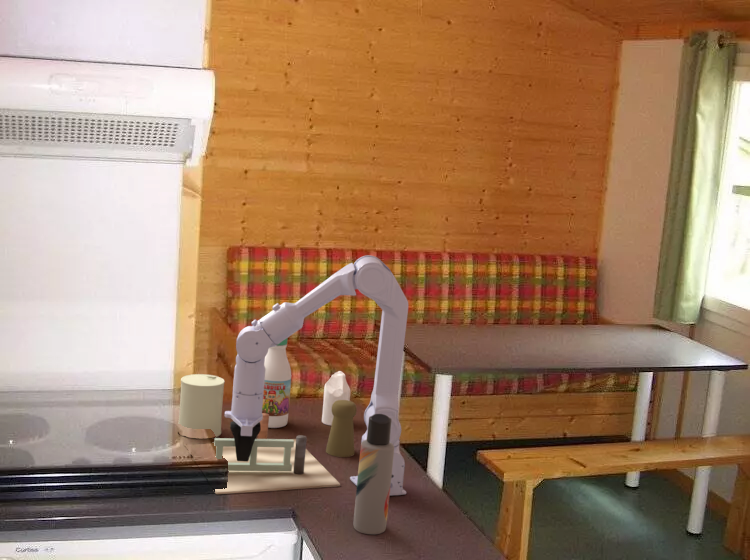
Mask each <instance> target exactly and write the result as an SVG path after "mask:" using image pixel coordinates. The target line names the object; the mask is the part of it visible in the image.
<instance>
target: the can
mask: <svg viewBox="0 0 750 560" xmlns="http://www.w3.org/2000/svg"><path fill="white" fill-rule="evenodd" d="M225 382H226V381H225V379H224V378H222V377H219V376H218V375H213V374H203V373H196V374H195V373H194V374H188V375H184V376H182V377H181V378H180V396H179V398H180V399H179V413H178V424H181V425H182V426H184V427H187V428H192V429H211V430H212V431H213V432H214V434H215V436H216V437H215V438H219V436H221V434H222V416H223V415H222V414H223V400H224V389H225V388H224V387H225Z"/></svg>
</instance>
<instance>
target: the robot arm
mask: <svg viewBox="0 0 750 560" xmlns="http://www.w3.org/2000/svg"><path fill="white" fill-rule="evenodd" d="M356 290H358V291H359V293H360V294H362V295H363V296H365V297H367V298H369V299H371V300H373V301H374V302H375V304H377V306H378V307H379V308H380V309H381V310H382V311H381V318H380V319H381V321H380V328H379V337H378V346H377V354H376V355H377V356H376V362H375V363H376V364H375V372H374V383H373V389H372V392H371V396H370V401H369V404H368V406H366V408H365V410H364V413H363V420H364V421H363V422H364V423H365V425H366V431H365V433H363V434H362V436H361V441H360V443H362V442H363V441H364V440H367V432H368V423H369V417H370V416H372V415H374V414H384V415H386V416H388V417H389V418H391V419H392V421H391V432H390V442H391V443H392V444H393V445H394V456H393V466H392V476H391V485H390V495H389V497H390V496H391V497H392V496H401V495H406V494H407V491H406V490H405V489H404V488H403V487H404V478H405V477H404V476H405V468H406V464H405V462H406V461H405V459H404V456H402V453H401V452H400V440H401V439H400V437H401V433H402V425H401V423H400V421H399V410H400V407H399V390H400V383H401V373H402V366H403V365H402V363H403V357H404V356H403V355H404V348H405V347H404V346H405V340H406V338H405V337H406V333H407V332H406V330H407V324H408V323H407V321H408V312H409V301H408V299H407V297H406V295H405V293H404V291H403V290H402V288H401V286H400V283H398V281H397V279H396V277H395V275H394V273H392V271H391V269H390V267H388V266H387V265H386V264H385V262H383V261H382V260H381V259H380V258H378V257H377V256H374V255H368V254H366V255H363V256H361V257H359V258H358V259H356V260H355V262H354V263H353V262H350V263H348V264H346V265H345V266H344V267H342V268H341V269H338V270H337V271H336V272H335V273H333V274H332V275H330V277H328V278H327V279H325V280H323V282H321V283H320V284H318V285H317V286H315V288H314V289H312V290H310V291H309V292H308V293H307V294H305V295H304V296H303V297H301V298H300V299H299V300H297V301H296V302H294V303H293V302H288V301H287V302H286V301H285V302H283V303H281V304H280V303H278V302H277V303H275V304H274V305H272V309H271V311H269V313H267V314H266V315H264V316H261V318H260V319H258V320H257V319H253V321H251V325H248V326H246V327H244V328H242V329H241V330H240V332H239V333H238V335H237V338H236V342H235V344H236V345H235V347H236V348H235V350H236V353H237V355H236V356H235V366H234V371H233V383H232V385H233V386H232V397H231V398H232V399H231V407H230V408H231V409H230V410H225V411H224V417H225V418H227V419H231V420H232V421H230V422H229V423H230V431H231V434H232V436H233V438H234V440H235V448H236V458H237V461H248V460H249V458H250V454H251V451H252V447H253V444H254V441H255V439H257V438H258V434H259V432H260V430H261V427H260V426H261V425H260V421H261V420H262V418H263V414H262V406H263V394H264V382H265V370H266V369H265V366H264V362H265V356H266V355H267V353H268V349H269V348H270V347H275V346H276V345H278V344H279V343H281V342H282V341H284V340H285V339H286V338H289V337H290V336H292V335H294V334H295V333H296V332H298V331H300V330H301V329H302V328H303V325H304V320H305V318H306V317H308V316H310V314H311V315H312V314H313V313H314V312H316V311H318V310H319V309H321V308H322V307H324V306H325V305H326V304H327V305H328V303H330V302H332V301H333V300H334V299H336V298H338V297H339V296H353V297H354V296H357V292H356ZM349 480H350V481H351V482H352V483H353V484H354V485H355V486H356V487H357V480H358V475H356V476H355V475H353V476H352V475H351V476H350V477H349Z"/></svg>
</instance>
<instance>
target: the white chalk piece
mask: <svg viewBox="0 0 750 560" xmlns="http://www.w3.org/2000/svg"><path fill="white" fill-rule="evenodd" d="M350 399H351V388H350V386H349V384H348V382H347V379H346V374H345V373H344V372H343V371H342V370H338V371H336V372H334V374H331V377H330V378H329V379H328V381H326V383H325V384H324V389H323V403H322V404H323V405H322V415H321V423H323V424H324V425H327V426H332V421H333V417H334V416H333V414H332V405H333V403H334V402H335V401H337V400H348V401H351V400H350Z"/></svg>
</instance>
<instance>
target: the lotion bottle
mask: <svg viewBox="0 0 750 560" xmlns="http://www.w3.org/2000/svg"><path fill="white" fill-rule="evenodd" d="M391 421H392V419H391V418H389V417H388V416H386V415H384V414H374V415H372V416H370V417H369V423H368V432H367V440H364V441H363V442H362V443H361V442H360V443H361V444H360V449H359V459H358V460H359V462H358V469H357V470H358V471H357V476H358V480H357V486H356V491H355V502H354V514H353V529H354V530H355V531H356V532H358V533H361V534H366V535H379V534H383V533H384V532H385V531H386V529H387V522H388V513H389V505H390V504H389V503H390V502H389V501H390V496H389V495H390V485H391V476H392V466H393V456H394V445H393V444H392V443H391V442H390V432H391Z"/></svg>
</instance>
